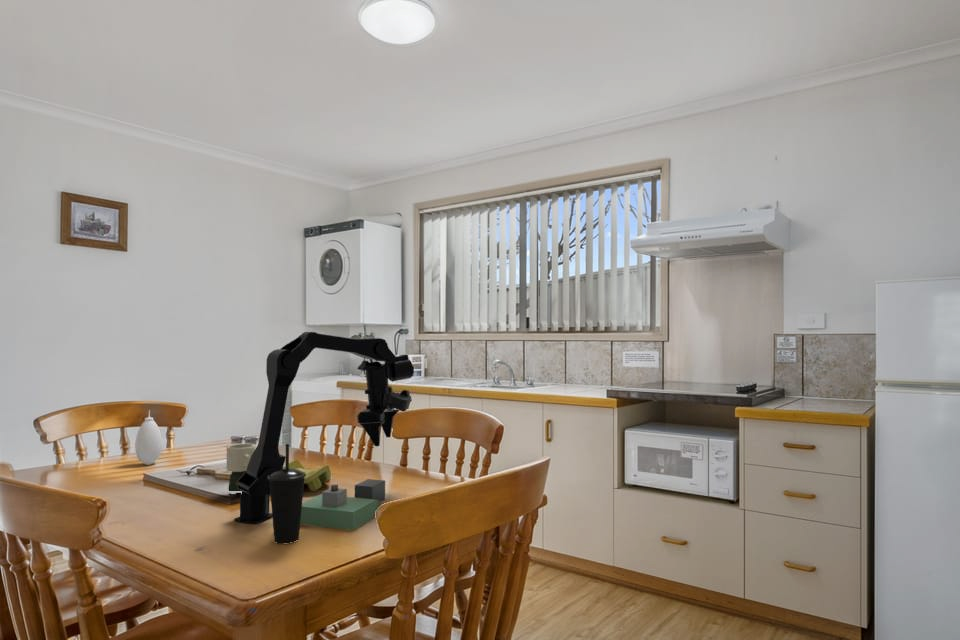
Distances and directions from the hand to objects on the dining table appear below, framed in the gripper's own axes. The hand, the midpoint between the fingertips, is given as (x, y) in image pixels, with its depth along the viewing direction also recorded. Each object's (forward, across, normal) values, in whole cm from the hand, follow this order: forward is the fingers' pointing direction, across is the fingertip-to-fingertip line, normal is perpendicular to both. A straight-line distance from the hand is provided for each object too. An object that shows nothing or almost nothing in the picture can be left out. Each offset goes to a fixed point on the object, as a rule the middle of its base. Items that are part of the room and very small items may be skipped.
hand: (383, 441), depth 165 cm
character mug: (+11, -8, +38) cm, 41 cm away
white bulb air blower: (+10, +20, +89) cm, 92 cm away
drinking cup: (+10, -40, +9) cm, 42 cm away
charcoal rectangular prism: (+13, -9, +2) cm, 16 cm away
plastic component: (+13, +3, +26) cm, 29 cm away
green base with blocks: (+12, -22, +4) cm, 25 cm away
